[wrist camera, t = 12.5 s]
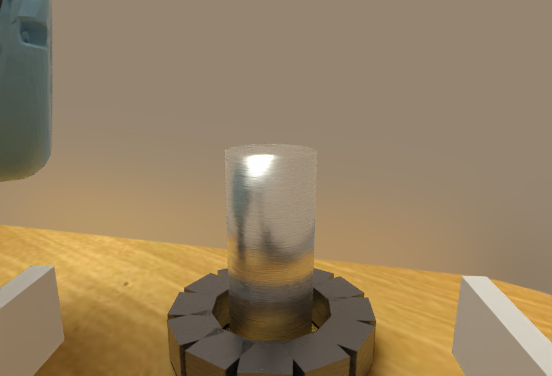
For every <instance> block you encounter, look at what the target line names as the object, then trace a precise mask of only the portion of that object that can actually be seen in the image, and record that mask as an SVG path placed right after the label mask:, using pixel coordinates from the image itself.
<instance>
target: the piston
mask: <svg viewBox="0 0 552 376" xmlns="http://www.w3.org/2000/svg"><path fill="white" fill-rule="evenodd" d="M225 169H226V208H227V246H228V247H227V248H228V288H229V327H230V332H231V333H234V334H236V335H239V336H241V337H243V338H246V339H248V340H256V341H289V340H292V339H296V338H299V337H302V336H305V335H308V334H311V333H312V302H313V270H314V238H315V237H314V236H315V206H316V175H317V151H316V150H315V149H313V148H309V147H304V146H297V145H287V144H286V145H285V144H254V145H243V146H237V147H232V148H229V149H227V150H226V151H225Z"/></svg>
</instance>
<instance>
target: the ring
mask: <svg viewBox="0 0 552 376" xmlns="http://www.w3.org/2000/svg"><path fill="white" fill-rule="evenodd" d="M167 315H168V320H167V325H168V340H169V355H170V360H171V362H172V365H173V367H174V370H175V372H176V374H177V376H366V374H367V373H368V371H369V369H370V368H371V366H372V361H373V353H374V340H375V327H376V320H375V317H374V314H373V311H372V308H371V305H370V302H369V299H368V298H364V293H363V292H362V291H361V290H359V289H358V288H356V287H355V286H353V285H352V284H350V283H349V282H348V281H346V280H345V279H343V278H342V277H336V278H334V274H333V273H330V272H326V271H322V270H319V269H315V268H314V270H313V302H312V321H313V322H314V323H315V324H316V325H317V326H319V327H320V329H319V330H318V331H317V332H315V333H311V334H308V335H305V336H302V337H299V338H296V339H292V340H289V341H256V340H248V339H246V338H243V337H241V336H239V335H236V334H234V333H231V332H229V331H226V330H224V329H222V328H223V327H225V326H226V325H227V324H229V288H228V268H227V269H223V270H218V275H215V274H212V273H210V274H208V275H206V276H205V277H203V278H201V279H199V280H198V281H196V282H194V283H192V284H190V285H189V286H187V287H185V288H184V292H179V294H178V296H177V298H176V300H175V302H174V303H173V305H172V307H171V309H170V311H169V313H168V314H167Z"/></svg>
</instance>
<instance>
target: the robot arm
mask: <svg viewBox="0 0 552 376" xmlns="http://www.w3.org/2000/svg"><path fill="white" fill-rule="evenodd" d="M51 146H52V0H0V182H4V181H12V180H20V179H24V178H26V177H29V176H31V175H33V174H35V173H36V172H38V171H39V170H40V169H41V168H42V167H44V166H45V164H46V163H47V161H48V159H49V157H50V154H51ZM63 341H64V333H63V326H62V318H61V311H60V304H59V297H58V290H57V283H56V275H55V268H54V266H30V267H29V268H28V269H26V270H25V271H23V272H22V273H21V274H19V275H18V276H16V277H15V278H14V279H12V280H11V281H9V282H8V283H7V284H5V285H4V286H2V287H1V288H0V376H33V375H34V374H35V373H36V372H37V371H38V370H39V369H40V368H41V366H42V365H43V364H44V363H45V362H46V361H47V360H48V358H49V357H50V356H51V355H52V354H53V353H54V352H55V350H56V349H57V348H58V347H59V346H60V345H61V344H62V342H63ZM452 353H453V355H454V356H455V358H456V360H457V361H458V363H459V365H460V367H461V368H462V370H463V372H464V373H465V375H466V376H552V343H551V342H550V341H549V340H548V339H547V338H546V337H545V336H544V335H543V334H542V333H541V332H540V331H539V330H538V329H537V328H536V326H535V325H534V324H533V323H532V322H531V321H530V320H529V319H528V318H527V317H526V316H525V315H524V314H523V313H522V312H521V311H520V310H519V309H518V308H517V307H516V306H515V305H514V304H513V303H512V302H511V301H510V300H509V299H508V298H507V297H506V296H505V295H504V294H503V293H502V292H501V291H500V290H499V289H498V288H497V287H496V286H495V285H494V284H493V283H492V282H491V281H490V280H489V279H488V278H487V277H485V276H484V277H483V276H462V278H461V286H460V293H459V301H458V309H457V316H456V324H455V332H454V340H453V347H452Z"/></svg>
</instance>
